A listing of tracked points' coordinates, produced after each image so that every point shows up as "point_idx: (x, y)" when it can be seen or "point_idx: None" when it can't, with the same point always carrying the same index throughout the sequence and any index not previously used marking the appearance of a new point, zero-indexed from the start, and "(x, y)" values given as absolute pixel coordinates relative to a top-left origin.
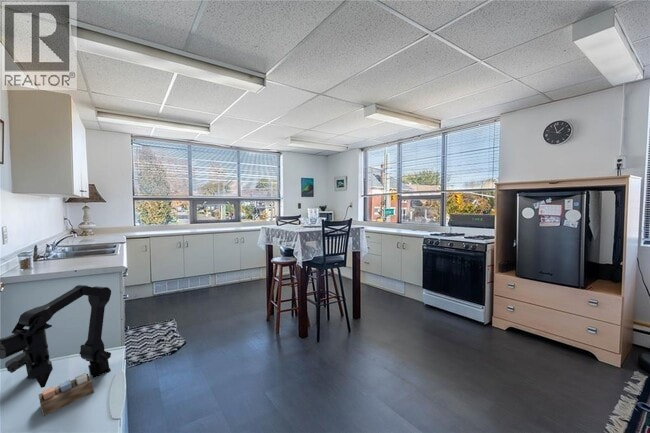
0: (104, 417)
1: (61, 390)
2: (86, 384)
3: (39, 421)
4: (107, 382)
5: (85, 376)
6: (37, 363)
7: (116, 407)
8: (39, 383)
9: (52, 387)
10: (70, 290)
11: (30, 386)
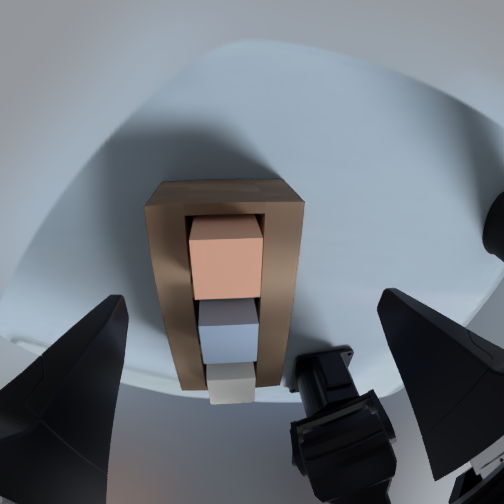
0: (25, 330)
1: (199, 310)
2: (178, 376)
3: (132, 163)
4: None
5: (212, 401)
6: (478, 406)
7: None
8: (63, 338)
9: (249, 292)
10: None
11: (469, 182)
